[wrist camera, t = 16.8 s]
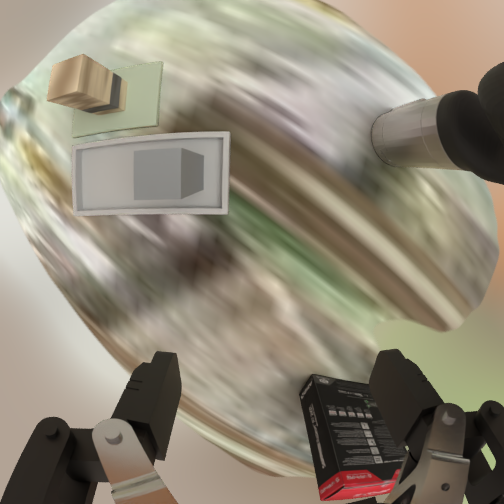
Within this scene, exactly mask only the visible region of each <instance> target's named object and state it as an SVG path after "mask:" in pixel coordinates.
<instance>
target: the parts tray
mask: <svg viewBox="0 0 504 504" xmlns="http://www.w3.org/2000/svg"><path fill="white" fill-rule="evenodd" d="M230 147H231V134H230V132H185V133H168V134H154V135H143V136H134V137H125V138H117V139H109V140H103V141H96V142H90V143H84V144H79V145H73V146H72V197H73V213H74V216H93V215H131V214H228V213H229V186H230ZM166 148H184V149H187V150H189V151H192V152H195V153H198V154H201V155H203V156H204V190H202V191H199V192H197V193H194V194H192V195H190V196H187V197H185V198H183V199H163V200H134V151H139V150H151V149H166Z"/></svg>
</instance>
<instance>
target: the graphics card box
mask: <svg viewBox="0 0 504 504" xmlns="http://www.w3.org/2000/svg"><path fill="white" fill-rule="evenodd" d="M299 396H300V400H301V405H302V409H303V414H304V419H305V424H306V428H307V433H308V438H309V443H310V448H311V453H312V458H313V463H314V468H315V473H316V478H317V484H318V489H319V494H320V500H321V501H330V500H343V499H353V498H362V497H368V496H376V495H381V494H387V493H390V492H391V491H392V489H393V487H394V485H395V482H396V480H397V477H398V475H399V472H400V469H401V467H402V464H403V461H404V458H405V455H406V453H407V450H406V448H405V446H404V447H400V448H396V445H395V443H394V441H393V439H392V437H391V434H390V432H389V430H388V428H387V426H386V424H385V421H384V419H383V417H382V415H381V413H380V411H379V409H378V407H377V405H376V403H375V400H374V398H373V396H372V394H371V392H370V389H369V385H366V384H360V383H355V382H349V381H344V380H338V379H334V378H329V377H324V376H319V375H315V374H314V375H312V376H311V377H310V379H309V380H308V382H307V383H306V385H305V386H304V388H303V389H302V391H301V392H300V394H299Z"/></svg>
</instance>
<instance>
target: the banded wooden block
mask: <svg viewBox="0 0 504 504" xmlns="http://www.w3.org/2000/svg"><path fill="white" fill-rule="evenodd" d="M127 86H128V82H127V81H125V80H124V79H122V78H121V77H120V76H118V75H117V74H115V73H114V72H111V71H110V70H108V69H107V68H105V67H104V66H102V65H101V64H99V63H97V62H96V61H94V60H93V59H91V58H89V57H88V56H86V55H85V54H82V55H79V56H76V57H73V58H70V59H67V60H65V61H62V62H60V63H57V64H55V65H53V67H52V72H51V77H50V82H49V88H48V95H47V101H49V102H53V103H57V104H61V105H64V106H68V107H72V108H75V109H79V110H81V111H85V112H88V113H92V114H96V115H104V114H109V113H115V112H121V111H125V107H126V95H127Z"/></svg>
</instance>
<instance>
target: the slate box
mask: <svg viewBox="0 0 504 504" xmlns="http://www.w3.org/2000/svg"><path fill="white" fill-rule="evenodd" d="M202 190H204V156H203V155H201V154H198V153H195V152H192V151H189V150H187V149H184V148H166V149H151V150H139V151H134V200H163V199H183V198H185V197H187V196H190V195H192V194H194V193H197V192H199V191H202Z"/></svg>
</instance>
